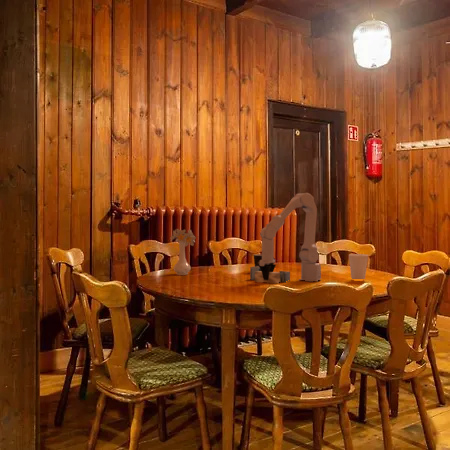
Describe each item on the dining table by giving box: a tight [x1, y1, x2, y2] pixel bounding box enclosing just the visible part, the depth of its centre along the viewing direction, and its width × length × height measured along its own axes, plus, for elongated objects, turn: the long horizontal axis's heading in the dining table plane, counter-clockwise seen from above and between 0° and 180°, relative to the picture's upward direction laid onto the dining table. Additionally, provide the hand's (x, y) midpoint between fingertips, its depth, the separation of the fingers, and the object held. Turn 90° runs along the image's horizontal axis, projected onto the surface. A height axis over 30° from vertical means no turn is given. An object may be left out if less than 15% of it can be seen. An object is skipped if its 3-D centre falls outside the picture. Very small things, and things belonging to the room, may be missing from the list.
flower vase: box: [169, 228, 197, 276], centre depth 261 cm, size 13×18×25 cm
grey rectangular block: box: [249, 265, 261, 281], centre depth 244 cm, size 4×7×6 cm, turn 151°
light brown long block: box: [254, 271, 281, 284], centre depth 234 cm, size 12×4×5 cm, turn 61°
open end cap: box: [279, 270, 291, 283], centre depth 238 cm, size 5×7×5 cm
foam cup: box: [348, 253, 369, 280], centre depth 241 cm, size 10×9×13 cm
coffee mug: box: [253, 253, 276, 266], centre depth 270 cm, size 12×9×10 cm
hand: (267, 279), depth 234 cm, fingers closed on light brown long block, 3 cm apart
